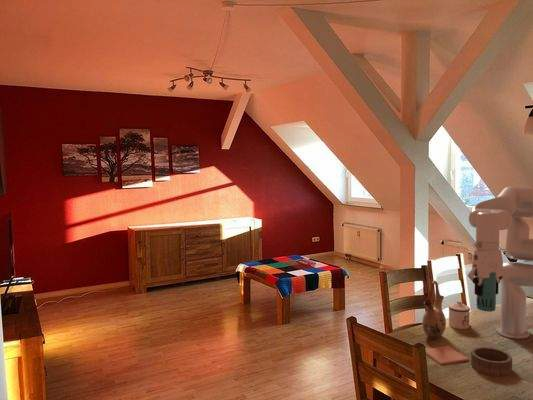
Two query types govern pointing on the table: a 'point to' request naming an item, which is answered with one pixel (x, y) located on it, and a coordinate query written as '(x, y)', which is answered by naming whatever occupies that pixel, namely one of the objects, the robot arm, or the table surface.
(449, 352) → the terracotta tile
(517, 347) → the table surface
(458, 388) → the table surface
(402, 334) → the table surface
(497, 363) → the walnut collar
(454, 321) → the teacup with lid
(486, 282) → the beverage bottle
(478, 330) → the table surface
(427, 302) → the ceramic vessel
